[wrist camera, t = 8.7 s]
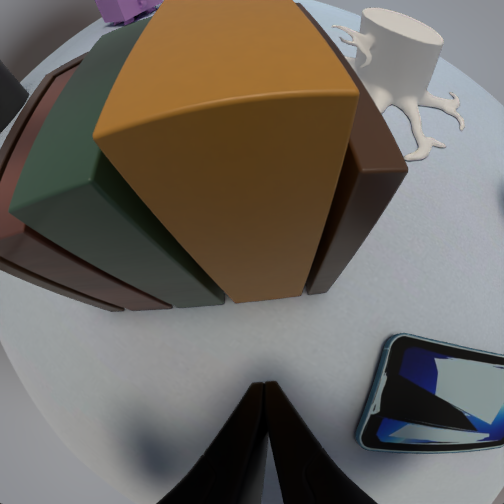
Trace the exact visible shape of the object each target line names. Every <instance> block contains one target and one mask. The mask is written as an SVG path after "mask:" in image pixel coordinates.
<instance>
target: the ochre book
mask: <svg viewBox="0 0 504 504" xmlns="http://www.w3.org/2000/svg"><path fill="white" fill-rule="evenodd" d="M359 94H360V93H359V90H358V88H357V87H356V85H355V83H354V82H353V80H352V78H351V77H350V75H349V74H348V72H347V71H346V69H345V68H344V66H343V65H342V63H341V62H340V60H339V59H338V57H337V56H336V54H335V53H334V51H333V50H332V49H331V47H330V46H329V45H328V43H327V42H326V40H325V39H324V38H323V36H322V35H321V34H320V33H319V31H318V30H317V29H316V27H315V26H314V25H313V24H312V22H311V21H310V20H309V19H308V18H307V16H306V15H305V14H304V13H303V12H302V11H301V9H300V8H299V7H298V6H297V5H296V4H295V3H294V1H293V0H164V1H163V3H162V4H161V5H160V7H159V8H158V10H157V11H156V13H155V14H154V15H153V17H152V18H151V20H150V21H149V23H148V24H147V26H146V27H145V29H144V31H143V32H142V34H141V35H140V37H139V39H138V40H137V42H136V44H135V45H134V47H133V49H132V50H131V52H130V54H129V56H128V58H127V59H126V61H125V63H124V65H123V67H122V69H121V71H120V73H119V75H118V77H117V79H116V81H115V83H114V85H113V87H112V89H111V91H110V93H109V95H108V98H107V100H106V102H105V104H104V107H103V109H102V111H101V114H100V116H99V119H98V121H97V124H96V126H95V129H94V132H93V134H92V135H93V140H94V142H95V143H96V144H97V145H98V147H99V148H100V149H101V151H102V152H103V153H104V154H105V156H106V157H107V158H108V159H109V161H110V162H111V163H112V164H113V166H114V167H115V168H116V169H117V171H118V172H119V173H120V174H121V175H122V177H123V178H124V179H125V180H126V182H127V183H128V184H129V185H130V186H131V188H132V189H133V190H134V191H135V192H136V194H137V195H138V196H139V197H140V198H141V200H142V201H143V202H144V203H145V204H146V205H147V207H148V208H149V209H150V210H151V211H152V212H153V214H154V215H155V216H156V217H157V218H158V219H159V221H160V222H161V223H162V224H163V225H164V226H165V227H166V229H167V230H168V231H169V232H170V233H171V234H172V235H173V236H174V238H175V239H176V240H177V241H178V242H179V243H180V244H181V245H182V247H183V248H184V249H185V250H186V251H187V252H188V253H189V254H190V255H191V256H192V258H193V259H194V260H195V261H196V262H197V263H198V264H199V265H200V266H201V267H202V268H203V270H204V271H205V272H206V273H207V274H208V275H209V276H210V277H211V278H212V279H213V280H214V281H215V282H216V284H217V285H218V286H219V287H220V288H221V289H222V290H223V291H224V292H225V293H226V294H227V295H228V296H229V297H230V298H231V299H232V300H233V301H234V302H235V303H243V302H253V301H262V300H271V299H280V298H288V297H296V296H301V294H302V291H303V288H304V286H305V283H306V280H307V277H308V274H309V271H310V268H311V266H312V263H313V260H314V257H315V254H316V251H317V248H318V245H319V242H320V239H321V235H322V232H323V229H324V226H325V223H326V220H327V216H328V213H329V210H330V206H331V203H332V200H333V196H334V193H335V190H336V186H337V183H338V179H339V176H340V172H341V168H342V165H343V161H344V157H345V153H346V150H347V146H348V142H349V138H350V134H351V130H352V126H353V122H354V117H355V113H356V109H357V105H358V100H359Z"/></svg>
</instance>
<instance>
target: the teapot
mask: <svg viewBox="0 0 504 504" xmlns="http://www.w3.org/2000/svg"><path fill="white" fill-rule="evenodd" d="M95 2H96V4H97V6H98V9H99V11H100V13H101V15H102V17H103V19H104V22H105V23H107V22H114V25H117V24H119V23H121V22H122V21H124V25H127V24H129V23H131V22H133V21H134V16H136V15H138V14H140V13H142V12H144V11H145V12H146V13H149V12H152V11H154V10H156V8H154V6H156V5H158V4H160V3H162V2H163V1H162V0H95Z"/></svg>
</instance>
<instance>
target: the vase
mask: <svg viewBox="0 0 504 504" xmlns="http://www.w3.org/2000/svg"><path fill="white" fill-rule="evenodd" d="M28 95H29V94H28V92H27V91H26V90H25V89H24V87H23V86H22V85H21V84H20V83H19V82H18V80H17V79H16V78H15V77H14V76H13V75H12V73H11V72H10V71H9V70H8V69H7V67H6V66H5V65H4V64H3V63H2V62H1V60H0V133H1V132H2V130H3V129H4V128H5V127H6V126H7V125H8V124H9V123H10V122H11V120H12V119H13V118H14V117H15V115H16V114H17V113H18V112H19V110H20V109H21V108H22V106H23V105H24V103H25V102H26V100H27V98H28Z"/></svg>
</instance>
